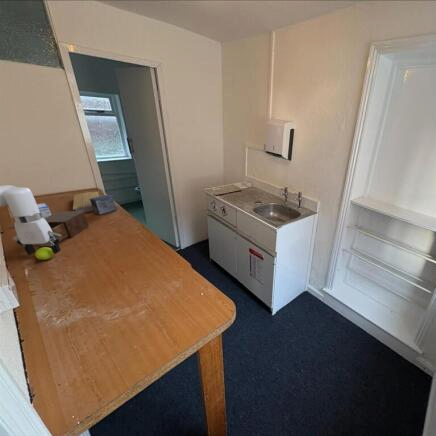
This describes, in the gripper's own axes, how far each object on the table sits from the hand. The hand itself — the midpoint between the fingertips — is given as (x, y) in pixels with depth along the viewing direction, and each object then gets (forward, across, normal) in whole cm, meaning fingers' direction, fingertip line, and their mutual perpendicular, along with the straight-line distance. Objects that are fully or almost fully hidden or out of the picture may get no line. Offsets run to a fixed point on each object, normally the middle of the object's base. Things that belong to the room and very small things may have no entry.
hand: (44, 252), depth 103 cm
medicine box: (+3, -33, +48) cm, 58 cm away
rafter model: (+3, -24, +72) cm, 77 cm away
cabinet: (+3, -9, +27) cm, 29 cm away
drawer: (+2, -9, +15) cm, 18 cm away
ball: (+3, 0, 0) cm, 3 cm away
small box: (+3, -6, +57) cm, 57 cm away
